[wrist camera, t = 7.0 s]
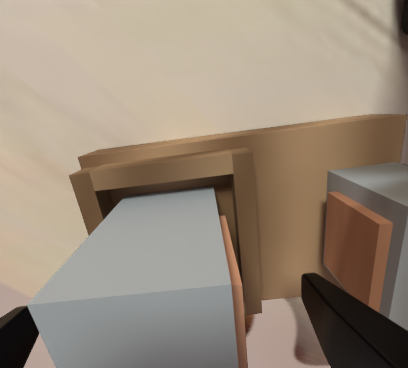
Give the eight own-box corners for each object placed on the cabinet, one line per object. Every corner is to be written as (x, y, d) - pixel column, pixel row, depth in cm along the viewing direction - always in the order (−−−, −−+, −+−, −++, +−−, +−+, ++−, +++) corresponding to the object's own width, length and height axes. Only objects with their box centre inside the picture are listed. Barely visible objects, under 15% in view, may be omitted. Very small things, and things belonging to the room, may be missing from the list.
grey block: (219, 184, 10) (246, 282, 4) (228, 274, 11) (255, 435, 6) (126, 194, 10) (26, 305, 4) (146, 282, 12) (94, 450, 6)
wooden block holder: (371, 114, 11) (557, 115, 5) (355, 263, 14) (465, 369, 8) (98, 149, 11) (-6, 187, 6) (136, 288, 14) (93, 407, 8)
